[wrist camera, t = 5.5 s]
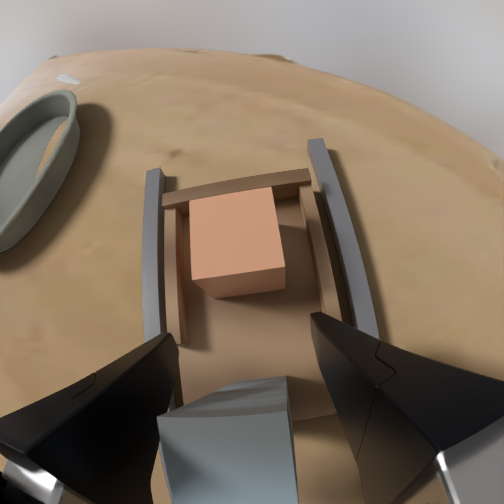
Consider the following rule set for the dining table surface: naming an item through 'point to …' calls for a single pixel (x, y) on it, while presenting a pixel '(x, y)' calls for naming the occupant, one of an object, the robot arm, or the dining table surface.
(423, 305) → the dining table surface
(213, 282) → the cube
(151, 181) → the lane
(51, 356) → the dining table surface
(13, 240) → the cake pan
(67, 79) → the pale flat piece
